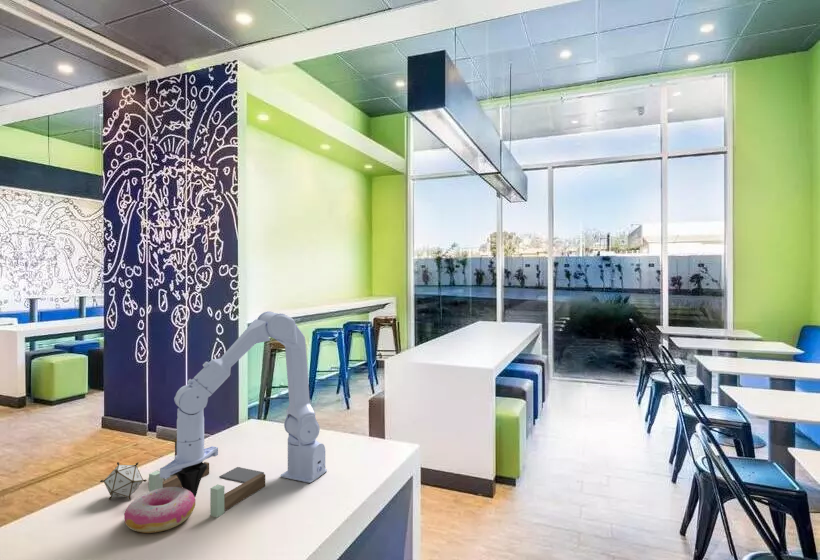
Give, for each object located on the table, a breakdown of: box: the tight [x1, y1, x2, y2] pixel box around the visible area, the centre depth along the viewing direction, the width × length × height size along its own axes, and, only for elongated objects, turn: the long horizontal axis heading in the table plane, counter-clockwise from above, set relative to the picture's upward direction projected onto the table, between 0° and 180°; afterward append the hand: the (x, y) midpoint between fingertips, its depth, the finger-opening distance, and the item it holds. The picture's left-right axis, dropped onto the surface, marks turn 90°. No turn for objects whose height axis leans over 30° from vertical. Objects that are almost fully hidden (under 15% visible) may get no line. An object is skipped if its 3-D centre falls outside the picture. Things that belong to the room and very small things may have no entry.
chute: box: [148, 461, 266, 518], centre depth 111 cm, size 21×16×6 cm
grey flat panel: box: [218, 466, 265, 484], centre depth 121 cm, size 9×6×1 cm
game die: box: [99, 461, 148, 501], centre depth 109 cm, size 9×8×10 cm
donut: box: [123, 487, 196, 534], centre depth 99 cm, size 14×13×5 cm
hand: (190, 497), depth 106 cm, fingers closed
